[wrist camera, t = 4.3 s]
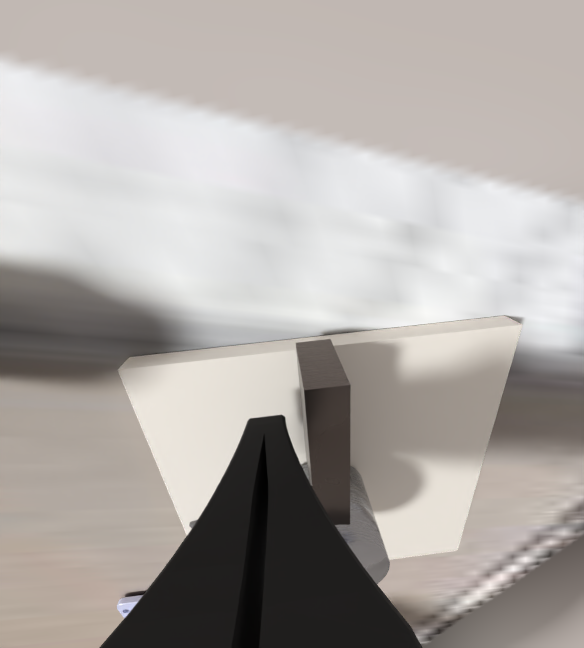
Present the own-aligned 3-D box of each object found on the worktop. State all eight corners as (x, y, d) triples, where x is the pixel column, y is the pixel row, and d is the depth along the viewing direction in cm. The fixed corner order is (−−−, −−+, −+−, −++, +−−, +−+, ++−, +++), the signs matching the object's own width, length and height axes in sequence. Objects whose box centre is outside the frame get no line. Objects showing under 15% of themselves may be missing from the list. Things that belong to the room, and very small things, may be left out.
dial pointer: (360, 566, 18) (380, 647, 15) (294, 575, 18) (299, 659, 15) (367, 335, 11) (408, 391, 8) (257, 346, 11) (252, 410, 8)
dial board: (448, 534, 20) (460, 555, 18) (210, 566, 19) (206, 590, 18) (504, 315, 13) (528, 327, 11) (128, 357, 12) (113, 374, 11)
